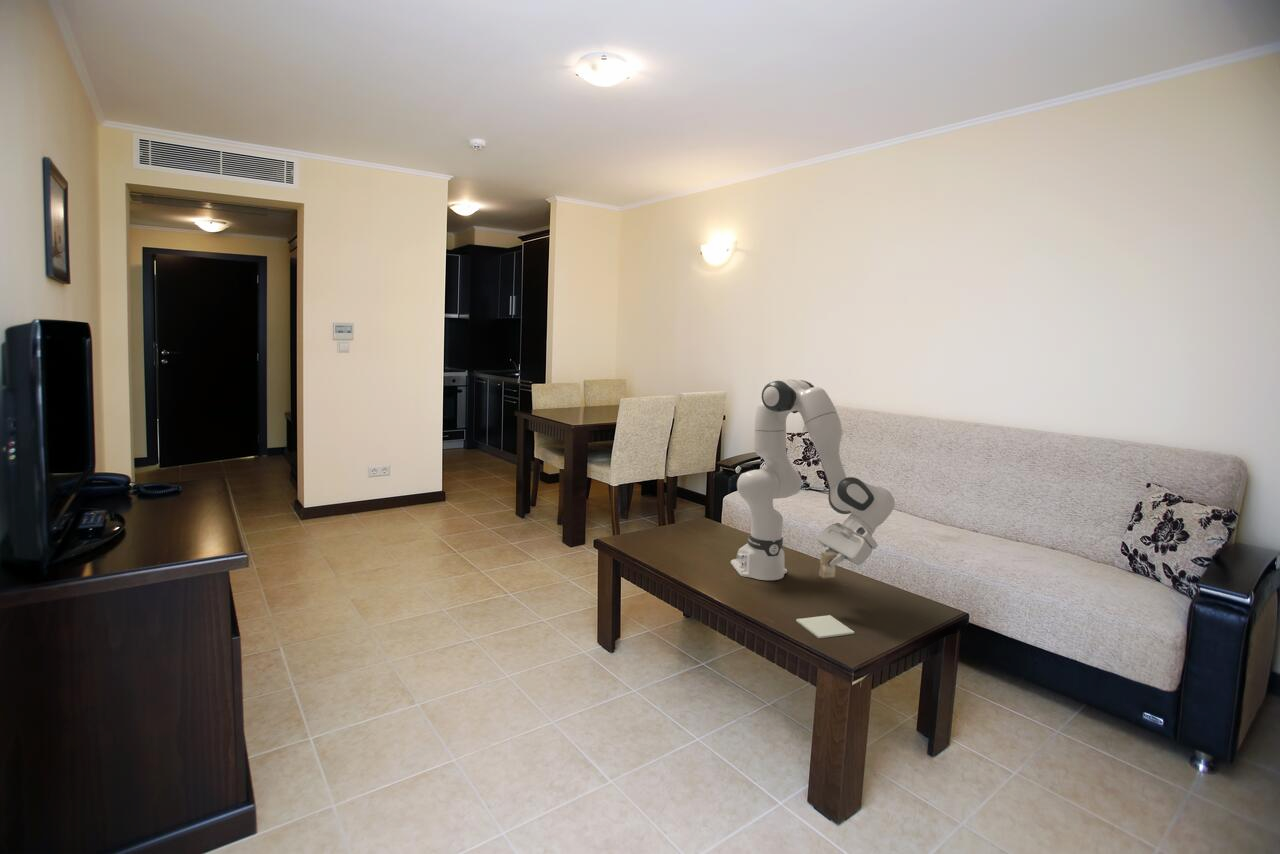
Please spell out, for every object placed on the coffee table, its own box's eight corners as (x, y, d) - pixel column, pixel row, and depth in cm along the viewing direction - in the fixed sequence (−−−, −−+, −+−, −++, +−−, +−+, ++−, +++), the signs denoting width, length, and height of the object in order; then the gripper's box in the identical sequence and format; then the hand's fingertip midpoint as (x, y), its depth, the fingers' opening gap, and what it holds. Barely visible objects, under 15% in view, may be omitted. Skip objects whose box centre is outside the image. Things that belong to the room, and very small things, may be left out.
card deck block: (818, 575, 205) (820, 552, 204) (829, 574, 206) (831, 551, 205) (823, 578, 203) (825, 555, 201) (834, 577, 204) (836, 554, 203)
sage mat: (796, 621, 198) (796, 619, 198) (829, 616, 202) (829, 615, 201) (819, 638, 186) (819, 636, 186) (854, 633, 190) (854, 631, 190)
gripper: (830, 515, 214) (802, 545, 212) (871, 534, 195) (840, 568, 193) (840, 527, 216) (812, 557, 214) (881, 547, 197) (851, 581, 195)
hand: (826, 562), depth 204 cm, fingers closed on card deck block, 3 cm apart
